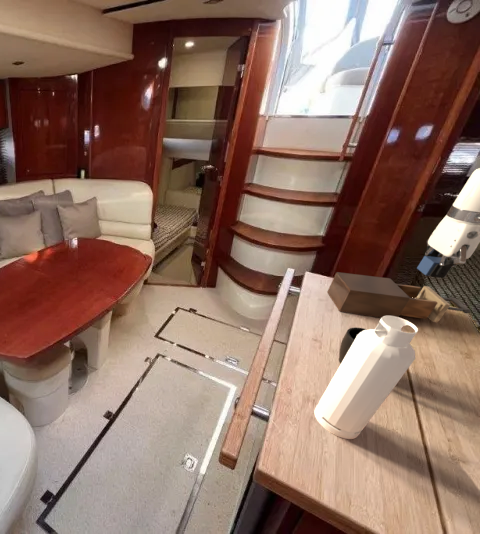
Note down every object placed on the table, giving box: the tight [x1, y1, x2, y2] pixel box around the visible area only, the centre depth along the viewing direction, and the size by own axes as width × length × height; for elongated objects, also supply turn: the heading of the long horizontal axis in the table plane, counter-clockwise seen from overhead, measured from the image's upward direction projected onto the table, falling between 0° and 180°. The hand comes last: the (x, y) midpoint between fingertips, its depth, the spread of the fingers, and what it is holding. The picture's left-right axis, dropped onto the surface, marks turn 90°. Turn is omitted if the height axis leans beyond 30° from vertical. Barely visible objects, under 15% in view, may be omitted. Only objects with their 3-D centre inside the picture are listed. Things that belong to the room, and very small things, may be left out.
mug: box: [338, 326, 368, 364], centre depth 77 cm, size 8×12×10 cm
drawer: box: [395, 283, 471, 324], centre depth 97 cm, size 21×10×7 cm, turn 72°
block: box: [416, 255, 452, 277], centre depth 91 cm, size 4×4×4 cm
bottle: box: [313, 316, 419, 440], centre depth 60 cm, size 8×8×28 cm
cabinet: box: [326, 271, 410, 319], centre depth 101 cm, size 15×12×9 cm
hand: (431, 271), depth 92 cm, fingers closed on block, 4 cm apart
